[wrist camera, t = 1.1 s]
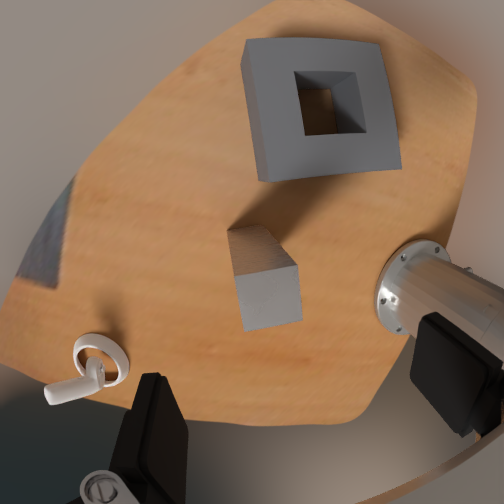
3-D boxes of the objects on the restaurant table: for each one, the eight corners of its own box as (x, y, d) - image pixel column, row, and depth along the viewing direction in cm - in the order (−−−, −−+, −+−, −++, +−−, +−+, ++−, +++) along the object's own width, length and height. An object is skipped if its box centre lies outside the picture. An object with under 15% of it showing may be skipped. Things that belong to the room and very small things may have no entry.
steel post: (262, 224, 28) (297, 265, 16) (267, 258, 29) (302, 320, 17) (226, 230, 28) (234, 276, 16) (232, 264, 29) (244, 331, 17)
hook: (20, 333, 23) (42, 358, 20) (100, 321, 34) (133, 338, 31) (29, 391, 23) (54, 422, 20) (102, 371, 34) (134, 392, 31)
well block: (351, 62, 25) (378, 44, 19) (370, 168, 28) (402, 169, 22) (240, 64, 24) (246, 39, 18) (258, 180, 27) (269, 182, 21)
